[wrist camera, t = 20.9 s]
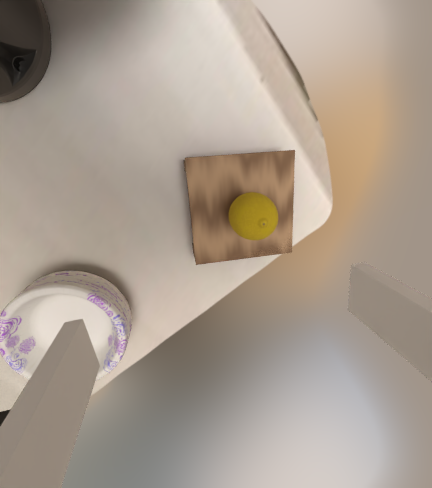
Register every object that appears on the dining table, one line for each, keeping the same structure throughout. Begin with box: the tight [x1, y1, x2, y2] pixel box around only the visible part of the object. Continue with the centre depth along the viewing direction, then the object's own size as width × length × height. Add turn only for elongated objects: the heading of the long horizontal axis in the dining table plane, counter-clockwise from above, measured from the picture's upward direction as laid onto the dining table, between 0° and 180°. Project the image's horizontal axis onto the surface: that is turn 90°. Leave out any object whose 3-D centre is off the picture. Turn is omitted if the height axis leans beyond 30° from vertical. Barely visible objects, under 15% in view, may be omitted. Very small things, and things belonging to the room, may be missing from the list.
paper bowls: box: [0, 271, 132, 381], centre depth 35 cm, size 15×15×8 cm
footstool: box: [184, 150, 295, 265], centre depth 36 cm, size 14×4×14 cm
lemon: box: [229, 192, 278, 240], centre depth 30 cm, size 6×6×8 cm
